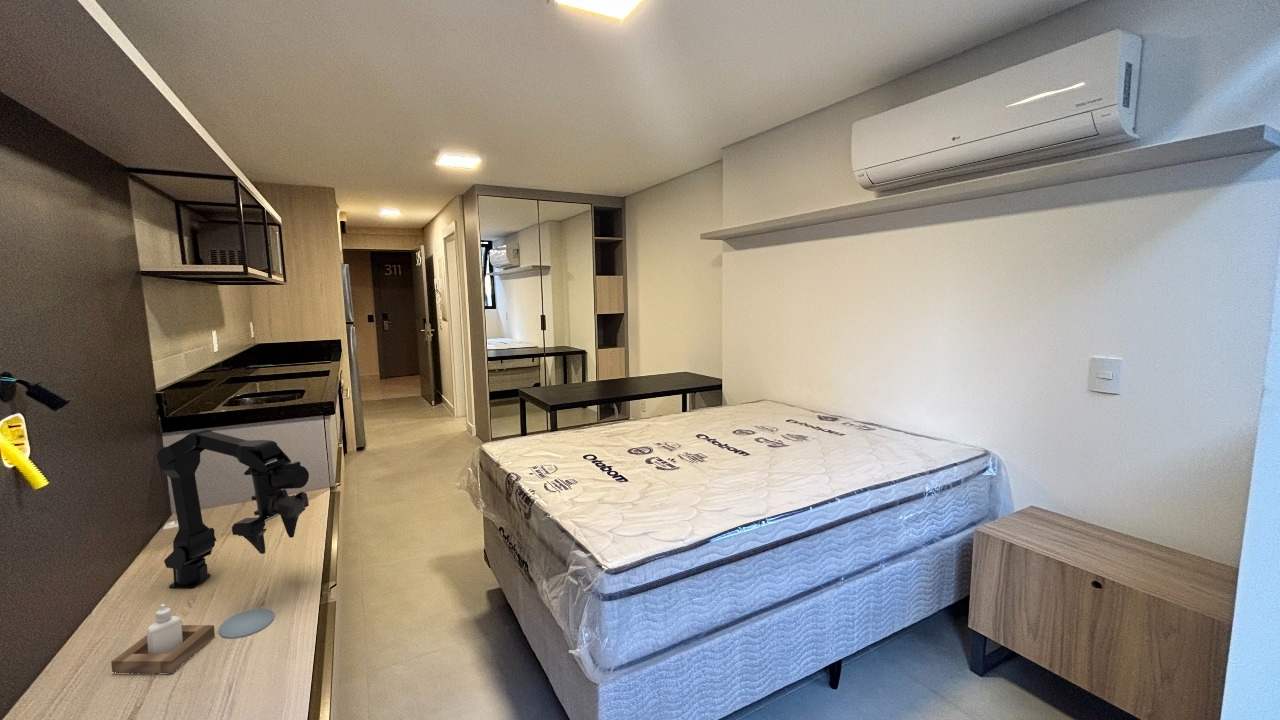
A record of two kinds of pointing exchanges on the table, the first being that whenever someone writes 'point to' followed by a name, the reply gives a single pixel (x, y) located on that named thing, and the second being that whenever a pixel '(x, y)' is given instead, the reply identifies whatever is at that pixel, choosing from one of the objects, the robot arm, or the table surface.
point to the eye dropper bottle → (164, 632)
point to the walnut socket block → (146, 663)
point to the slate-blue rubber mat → (246, 623)
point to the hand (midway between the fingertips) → (277, 545)
